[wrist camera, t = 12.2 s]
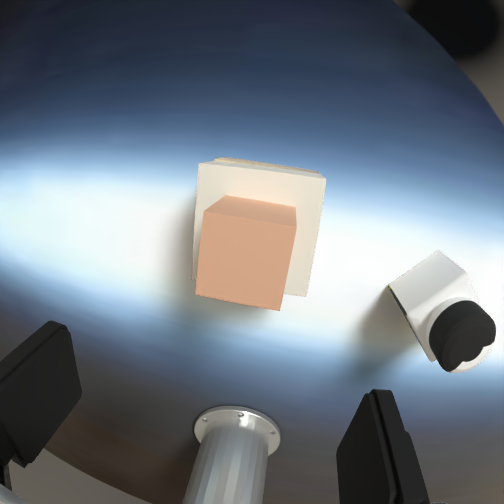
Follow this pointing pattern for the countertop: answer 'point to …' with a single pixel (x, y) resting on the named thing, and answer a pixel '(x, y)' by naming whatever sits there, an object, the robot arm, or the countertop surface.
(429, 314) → the medicine bottle
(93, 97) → the countertop surface
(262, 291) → the terracotta block
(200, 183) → the cream block
